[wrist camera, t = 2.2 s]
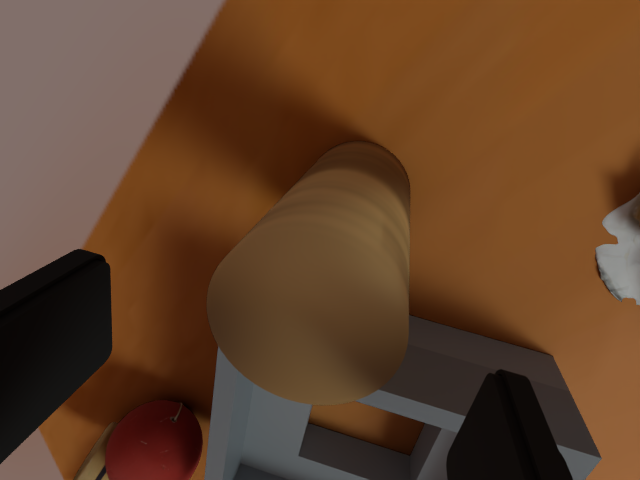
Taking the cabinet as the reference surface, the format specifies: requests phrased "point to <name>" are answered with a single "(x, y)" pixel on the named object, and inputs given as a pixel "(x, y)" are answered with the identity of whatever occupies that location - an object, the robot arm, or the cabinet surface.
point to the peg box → (395, 396)
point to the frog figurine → (622, 252)
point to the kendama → (147, 445)
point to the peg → (322, 282)
